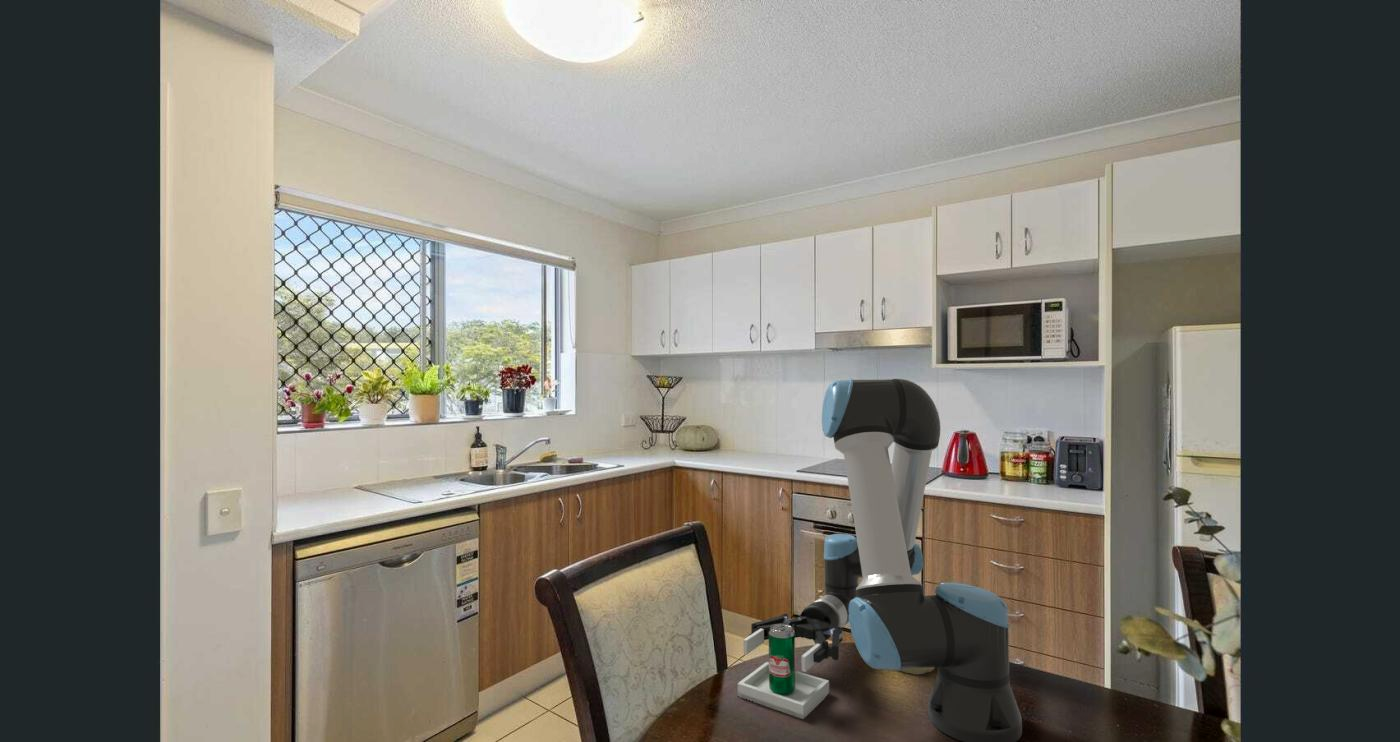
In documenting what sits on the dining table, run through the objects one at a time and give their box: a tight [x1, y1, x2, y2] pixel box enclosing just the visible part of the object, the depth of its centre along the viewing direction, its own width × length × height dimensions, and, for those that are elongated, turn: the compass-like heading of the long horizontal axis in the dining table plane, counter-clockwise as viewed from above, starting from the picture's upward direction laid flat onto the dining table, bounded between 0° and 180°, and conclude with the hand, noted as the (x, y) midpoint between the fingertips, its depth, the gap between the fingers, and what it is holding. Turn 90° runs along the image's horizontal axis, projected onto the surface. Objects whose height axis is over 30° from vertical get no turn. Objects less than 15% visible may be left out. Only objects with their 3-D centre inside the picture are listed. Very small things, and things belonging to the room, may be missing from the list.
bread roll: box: [898, 667, 936, 675], centre depth 130 cm, size 8×9×4 cm
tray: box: [737, 661, 830, 720], centre depth 119 cm, size 14×11×2 cm
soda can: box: [768, 624, 796, 696], centre depth 119 cm, size 5×5×12 cm
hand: (773, 655), depth 116 cm, fingers open, 12 cm apart
